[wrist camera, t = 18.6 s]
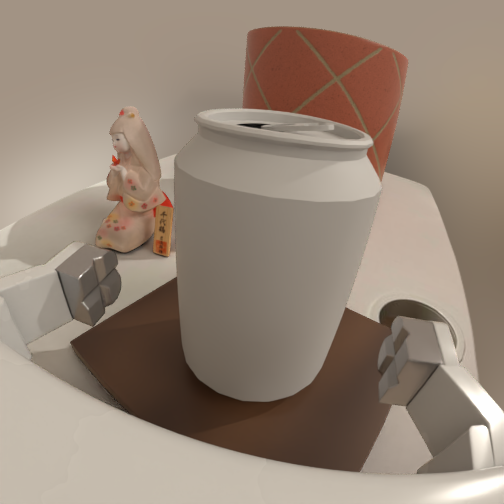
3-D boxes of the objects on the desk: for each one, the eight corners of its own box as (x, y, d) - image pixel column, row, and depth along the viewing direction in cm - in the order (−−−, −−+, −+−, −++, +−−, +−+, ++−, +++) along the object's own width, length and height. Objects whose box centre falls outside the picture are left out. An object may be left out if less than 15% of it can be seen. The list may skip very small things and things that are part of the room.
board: (409, 349, 18) (415, 339, 18) (310, 541, 8) (317, 539, 8) (223, 258, 26) (223, 248, 25) (74, 352, 16) (69, 341, 15)
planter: (263, 164, 50) (276, 46, 40) (377, 192, 45) (401, 68, 35) (205, 202, 35) (218, 24, 24) (374, 247, 30) (418, 48, 19)
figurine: (76, 240, 26) (75, 108, 21) (126, 222, 31) (130, 108, 27) (145, 268, 22) (150, 102, 18) (195, 242, 28) (205, 108, 24)
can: (226, 291, 21) (241, 100, 14) (335, 333, 18) (394, 130, 12) (155, 367, 15) (126, 113, 8) (291, 434, 12) (389, 158, 6)
